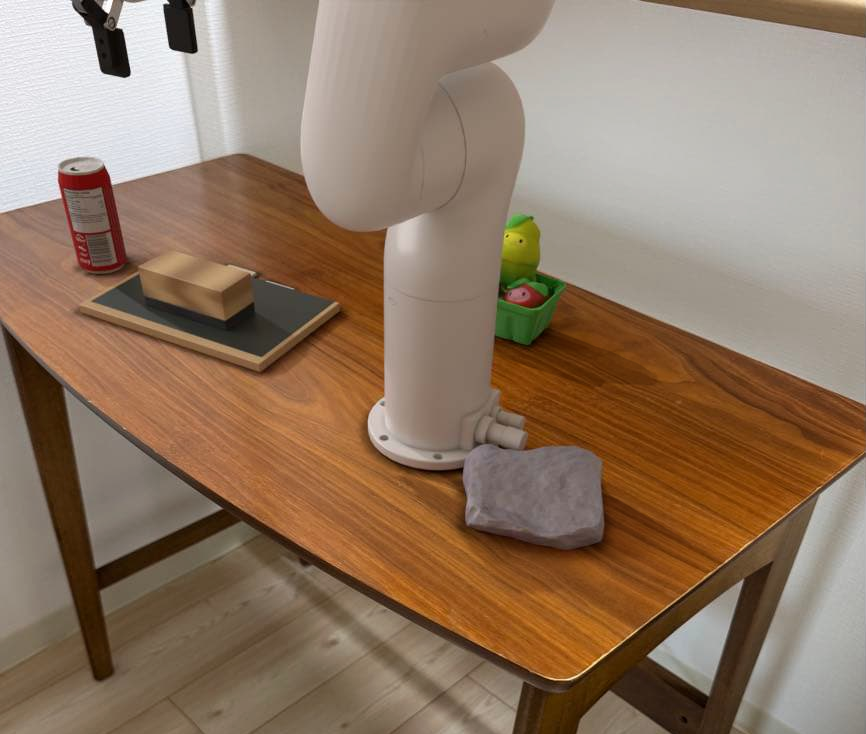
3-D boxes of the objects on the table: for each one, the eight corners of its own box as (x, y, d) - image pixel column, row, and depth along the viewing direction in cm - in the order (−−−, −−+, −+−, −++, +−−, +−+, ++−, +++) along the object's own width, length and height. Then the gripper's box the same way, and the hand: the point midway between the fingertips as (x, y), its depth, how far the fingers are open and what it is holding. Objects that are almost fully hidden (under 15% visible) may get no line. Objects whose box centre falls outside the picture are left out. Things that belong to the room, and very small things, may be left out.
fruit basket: (439, 325, 99) (443, 225, 91) (478, 294, 105) (484, 197, 97) (532, 355, 95) (545, 253, 87) (567, 321, 101) (581, 222, 93)
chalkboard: (340, 310, 101) (339, 302, 100) (260, 372, 91) (259, 364, 90) (171, 260, 109) (169, 252, 108) (80, 312, 99) (78, 304, 98)
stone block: (606, 566, 74) (596, 473, 80) (614, 531, 70) (604, 436, 76) (461, 563, 74) (462, 471, 80) (461, 528, 70) (463, 434, 76)
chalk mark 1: (250, 276, 106) (250, 279, 106) (256, 272, 106) (256, 275, 107) (223, 267, 107) (223, 271, 107) (229, 264, 108) (229, 267, 108)
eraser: (255, 311, 98) (250, 272, 95) (226, 331, 95) (221, 291, 92) (175, 287, 102) (168, 248, 99) (145, 305, 98) (137, 266, 95)
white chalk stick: (294, 291, 104) (294, 288, 104) (288, 296, 103) (288, 292, 103) (266, 283, 106) (266, 280, 105) (260, 287, 105) (260, 284, 104)
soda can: (112, 250, 110) (90, 149, 102) (136, 265, 107) (115, 163, 99) (70, 263, 107) (44, 160, 99) (94, 279, 104) (69, 175, 96)
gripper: (73, -150, 68) (119, 92, 80) (214, -165, 80) (237, 48, 92) (0, -158, 71) (55, 78, 82) (148, -171, 82) (178, 38, 94)
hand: (151, 62), depth 87 cm, fingers open, 9 cm apart
